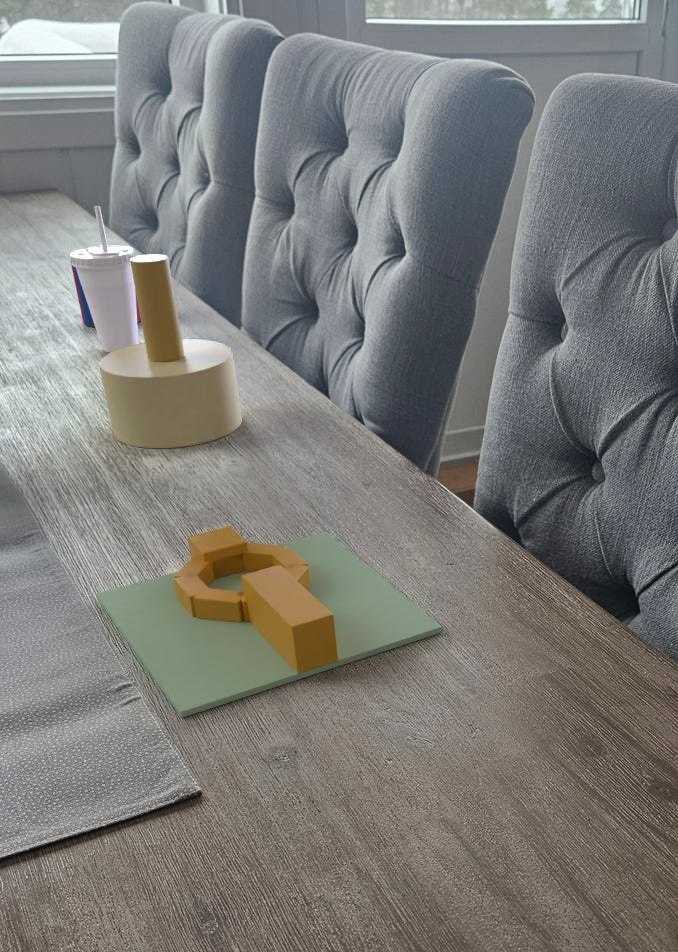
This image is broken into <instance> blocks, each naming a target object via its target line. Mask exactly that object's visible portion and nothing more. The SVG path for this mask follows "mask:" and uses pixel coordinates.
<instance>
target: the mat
mask: <svg viewBox="0 0 678 952" xmlns="http://www.w3.org/2000/svg"><path fill="white" fill-rule="evenodd" d="M278 545H281V546H286V548H289V547H290V548H291V549H292V550H293V551H295V552H296V553H297V554H298V555H299V556H300V557H301V558H302V559H304V560H305V561H306V562H307V563H308V566H309V575H310V584H311V585H310V587H309V588H308V589H307V591H309V592H310V593H311V594H312V595H313V596H314V597H315V598H316V599H317V600H318V601H319V602H320V603H321V604H322V605H323V606H325V607H326V608H327V609H328V610H329V611H330V612H331V613H332V614H333V617H334V626H335V635H336V645H337V654H338V661H335V662H332V663H329V664H326V665H323V666H320V667H317V668H314V669H311V670H307V671H304V672H301V673H297V672H296V671H295V670H294V669H293V667H292V666H291V665H290V664H289V663H288V662H287V661H286V660H285V659H284V658H283V657H282V656H281V654H280V653H279V652H278V651H277V650H276V649H275V648H274V647H273V646H272V645H271V644H270V643H269V641H268V640H267V639H266V638H265V637H264V636H263V635H262V634H261V633H260V632H259V631H258V630H257V628H256V627H255V626H254V625H253V624H252V623H251V622H250V621H248V622H246V621H245V620H244V619H243V621H242V622H230V621H220V620H210V619H200V618H197V616H194V617H193V616H192V615H191V614H190V612H189V611H188V610H187V609H186V608H185V607H184V605H183V604H182V603H181V602H180V601H179V599H178V598H177V594H176V589H175V584H174V576H175V575H176V574H177V573H178V572H179V571H180V570H179V571H175V572H171V573H167V574H164V575H160V576H156V577H152V578H149V579H145V580H141V581H137V582H134V583H130V584H127V585H124V586H123V585H122V586H119V587H116V588H112V589H108V590H105V591H100V592H96V593H95V596H96V599H97V601H98V603H99V604H100V605H101V606H102V608H103V610H104V611H105V612H106V614H107V615H108V616H109V618H110V619H111V620H112V622H113V624H114V625H115V627H116V628H117V629H118V631H119V632H120V633H121V635H122V636H123V637H124V639H125V640H126V642H127V644H128V645H129V646H130V647H131V649H132V651H133V652H134V653H135V655H136V656H137V657H138V659H139V660H140V661H141V663H142V664H143V665H144V667H145V669H146V670H147V671H148V673H149V674H150V676H151V677H152V679H153V680H154V681H155V683H156V684H157V685H158V687H159V688H160V689H161V691H162V693H163V694H164V695H165V697H166V698H167V699H168V701H169V703H170V704H171V705H172V707H173V708H174V709H175V711H176V712H177V713H178V714H179V716H180V718H181V719H183V718H186V717H189V716H193V715H195V714H198V713H201V712H205V711H207V710H211V709H214V708H216V707H220V706H223V705H225V704H229V703H231V702H235V701H238V700H241V699H244V698H247V697H250V696H253V695H257V694H259V693H263V692H265V691H268V690H272V689H274V688H277V687H280V686H283V685H287V684H289V683H292V682H295V681H299V680H301V679H305V678H308V677H311V676H315V675H317V674H320V673H323V672H326V671H329V670H333V669H336V668H339V667H342V666H345V665H347V664H350V663H351V664H352V663H353V662H357V661H360V660H362V659H365V658H368V657H372V656H375V655H377V654H381V653H383V652H386V651H390V650H393V649H396V648H399V647H402V646H405V645H408V644H412V643H414V642H417V641H420V640H423V639H428V638H429V637H432V636H436V635H438V634H442V633H443V626H442V625H440V624H439V623H438V622H437V621H436V620H434V619H433V618H432V617H431V616H430V615H428V614H427V613H426V612H424V611H423V610H422V609H421V608H420V607H418V606H417V605H416V604H415V603H414V602H412V601H411V600H410V599H409V598H407V597H406V596H405V595H404V594H403V593H401V592H400V591H399V590H398V589H396V588H395V587H394V586H393V585H391V583H389V582H388V581H387V580H386V579H385V578H383V577H382V576H380V574H378V573H377V572H376V571H375V570H373V569H372V568H371V567H370V566H368V564H366V563H365V562H364V561H363V560H362V559H360V558H359V557H358V556H356V555H355V554H354V553H353V552H351V551H350V550H349V549H348V548H347V547H345V546H344V545H343V544H342V543H340V541H338V540H337V539H335V537H333V536H332V535H331V534H329V533H328V532H327V531H324V532H320V533H316V534H312V535H309V536H305V537H301V538H297V539H293V540H289V541H287V542H283V543H279V544H278ZM248 573H252V572H251V571H243V572H239V573H236V574H232V575H228V576H225V577H221V578H217V579H214V580H213V581H212V583H211V584H210V585H209V586H208V588H210V589H221V590H232V591H243V584H242V578H241V576H242V575H245V574H248Z"/></svg>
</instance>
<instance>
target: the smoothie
mask: <svg viewBox="0 0 678 952" xmlns="http://www.w3.org/2000/svg"><path fill="white" fill-rule="evenodd" d="M93 208H94V214H95V218H96V223H97V229H98V234H99V238H100V239H99V240H100V243H101V245H98V246H90V247H85V248H81V249H77V250H74V251H73V252H71V253H70V255H69V256H70V261H72V263H71V262H70V266H71V265H72V266H74V267H76V270H77V273H78V276H79V279H80V283H81V285H82V288H83V291H84V294H85V297H86V300H87V303H88V306H89V309H90V312H91V315H92V318H93V321H94V324H95V327H94V328H95V330H96V333H97V336H98V339H99V342H100V345H101V348H102V351H104V352H106V353H111V352H114V351H116V350H118V349H121V348H124V347H128V346H131V345H135V344H140V343H139V328H138V327H139V326H138V322H137V310H136V294H135V284H134V279H133V274H132V268H131V263H130V259H131V258H133V257H136V253H135V249H134V248H133V247H131V246H127V245H113V244H112V245H111V244H110V245H108V242H107V235H106V230H105V225H104V220H103V214H102V210H101V206H100V205H95V206H93ZM72 266H71V267H72Z"/></svg>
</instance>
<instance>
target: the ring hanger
mask: <svg viewBox="0 0 678 952" xmlns="http://www.w3.org/2000/svg"><path fill="white" fill-rule="evenodd" d="M187 543H188V548H189V553H190V560H189V561H188V562H186V564H185V565H184V566H183V567H181V569H180V570H179V572H178V571H177V572H178V573H177V574H176V575H175V576H174V584H175V589H176V594H177V598H178V599H179V601H180V602H181V603H182V604H183V605H184V607H185V608H186V609H187V610H188V611H189V612H190V614H191V615H192V616H193V617H194V616H197V618H200V619H210V620H220V621H230V622H242V621H243V619H244V620H245V621H246V622H248V621H250V622H251V623H252V624H253V625H254V626H255V627H256V628H257V630H258V631H259V632H260V633H261V634H262V635H263V636H264V637H265V638H266V639H267V640H268V641H269V643H270V644H271V645H272V646H273V647H274V648H275V649H276V650H277V651H278V652H279V653H280V654H281V656H282V657H283V658H284V659H285V660H286V661H287V662H288V663H289V664H290V665H291V666H292V667H293V669H294V670H295V671H296V672H297V673H301V672H304V671H307V670H311V669H314V668H317V667H320V666H323V665H326V664H329V663H332V662H335V661H338V654H337V645H336V635H335V626H334V617H333V614H332V613H331V612H330V611H329V610H328V609H327V608H326V607H325V606H323V605H322V604H321V603H320V602H319V601H318V600H317V599H316V598H315V597H314V596H313V595H312V594H311V593H310V592H309V591H307V589H308V588H309V587H310V585H311V584H310V575H309V566H308V563H307V562H306V561H305V560H304V559H302V558H301V557H300V556H299V555H298V554H297V553H296V552H295V551H293V550H292V549H291V548H290V547H289V548H286V546H281V545H279V544H270V543H269V544H267V543H256V542H248V541H247V540H245V538H243V536H242V535H241V534H240V533H238V531H237V530H235V529H234V528H233V527H232V526H230V525H229V526H225V527H221V528H217V529H214V530H209V531H205V532H201V533H198V534H193V535H190V536H187ZM243 571H251V572H252V573H248V574H245V575H242V576H241V578H242V584H243V591H232V590H221V589H210V588H208V586H209V585H210V584H211V583H212V581H213V580H214V579H217V578H221V577H225V576H228V575H232V574H236V573H239V572H243Z"/></svg>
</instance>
